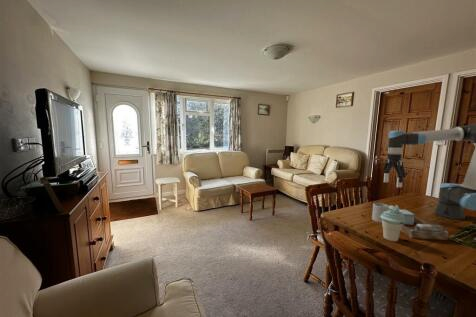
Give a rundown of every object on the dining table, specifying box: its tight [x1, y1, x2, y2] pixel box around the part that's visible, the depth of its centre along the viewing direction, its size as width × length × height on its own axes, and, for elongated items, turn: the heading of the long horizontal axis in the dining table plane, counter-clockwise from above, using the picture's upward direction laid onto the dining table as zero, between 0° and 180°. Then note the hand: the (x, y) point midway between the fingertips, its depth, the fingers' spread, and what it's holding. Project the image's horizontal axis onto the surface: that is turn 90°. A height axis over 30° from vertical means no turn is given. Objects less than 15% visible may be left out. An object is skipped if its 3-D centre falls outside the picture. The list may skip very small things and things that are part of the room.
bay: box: [400, 216, 449, 241], centre depth 121 cm, size 18×23×8 cm
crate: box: [399, 208, 416, 226], centre depth 132 cm, size 8×8×7 cm
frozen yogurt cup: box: [380, 204, 406, 242], centre depth 110 cm, size 10×11×20 cm
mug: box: [371, 202, 389, 224], centre depth 135 cm, size 12×8×11 cm
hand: (392, 184), depth 137 cm, fingers open, 13 cm apart
